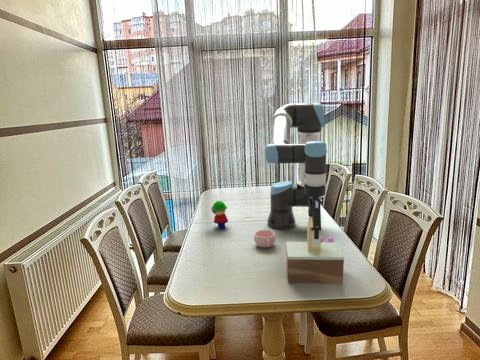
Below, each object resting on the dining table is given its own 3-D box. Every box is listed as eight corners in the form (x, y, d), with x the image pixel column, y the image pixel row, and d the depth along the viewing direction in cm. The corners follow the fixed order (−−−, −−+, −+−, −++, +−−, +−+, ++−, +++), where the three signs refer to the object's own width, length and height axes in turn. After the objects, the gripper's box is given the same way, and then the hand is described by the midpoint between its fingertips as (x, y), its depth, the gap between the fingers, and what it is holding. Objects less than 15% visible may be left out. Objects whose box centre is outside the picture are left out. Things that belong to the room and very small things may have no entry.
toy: (228, 230, 177) (227, 203, 174) (212, 231, 177) (210, 203, 174) (228, 224, 186) (227, 198, 183) (212, 225, 186) (211, 199, 183)
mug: (252, 242, 162) (252, 230, 161) (272, 240, 164) (272, 228, 162) (258, 252, 151) (257, 240, 149) (279, 250, 152) (279, 238, 151)
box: (286, 265, 138) (286, 244, 136) (336, 266, 136) (337, 244, 134) (287, 282, 125) (287, 259, 123) (342, 283, 123) (343, 259, 121)
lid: (286, 247, 136) (286, 218, 133) (337, 248, 134) (338, 218, 131) (287, 262, 123) (287, 230, 121) (343, 263, 121) (345, 231, 119)
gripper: (301, 176, 134) (301, 227, 139) (307, 193, 111) (306, 253, 116) (320, 176, 134) (319, 227, 139) (331, 193, 110) (329, 253, 115)
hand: (313, 239), depth 127 cm, fingers open, 12 cm apart
